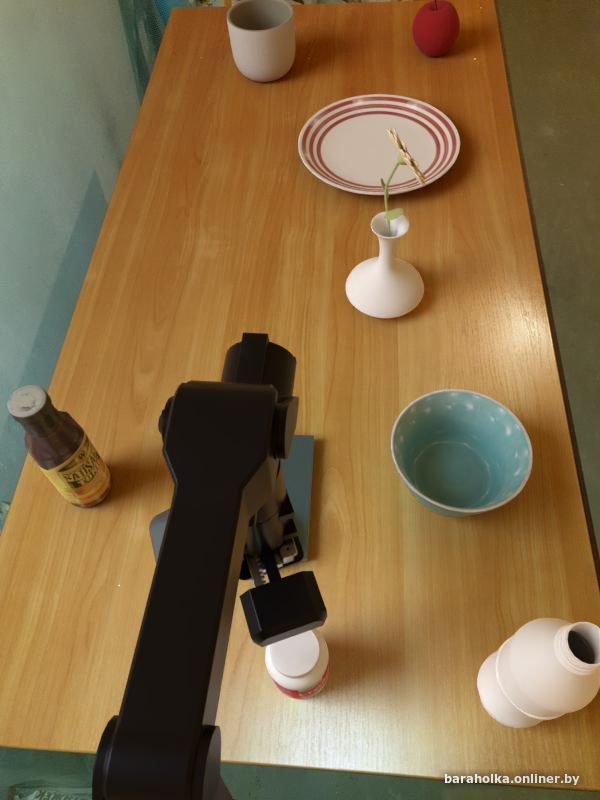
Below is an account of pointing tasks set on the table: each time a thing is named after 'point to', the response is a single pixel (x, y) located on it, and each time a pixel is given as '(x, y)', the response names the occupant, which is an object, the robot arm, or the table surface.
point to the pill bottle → (299, 664)
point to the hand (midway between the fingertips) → (267, 557)
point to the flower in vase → (388, 258)
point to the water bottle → (541, 672)
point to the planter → (262, 38)
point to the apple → (436, 27)
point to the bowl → (461, 452)
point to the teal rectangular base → (300, 484)
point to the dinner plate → (377, 143)
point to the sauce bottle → (60, 447)
